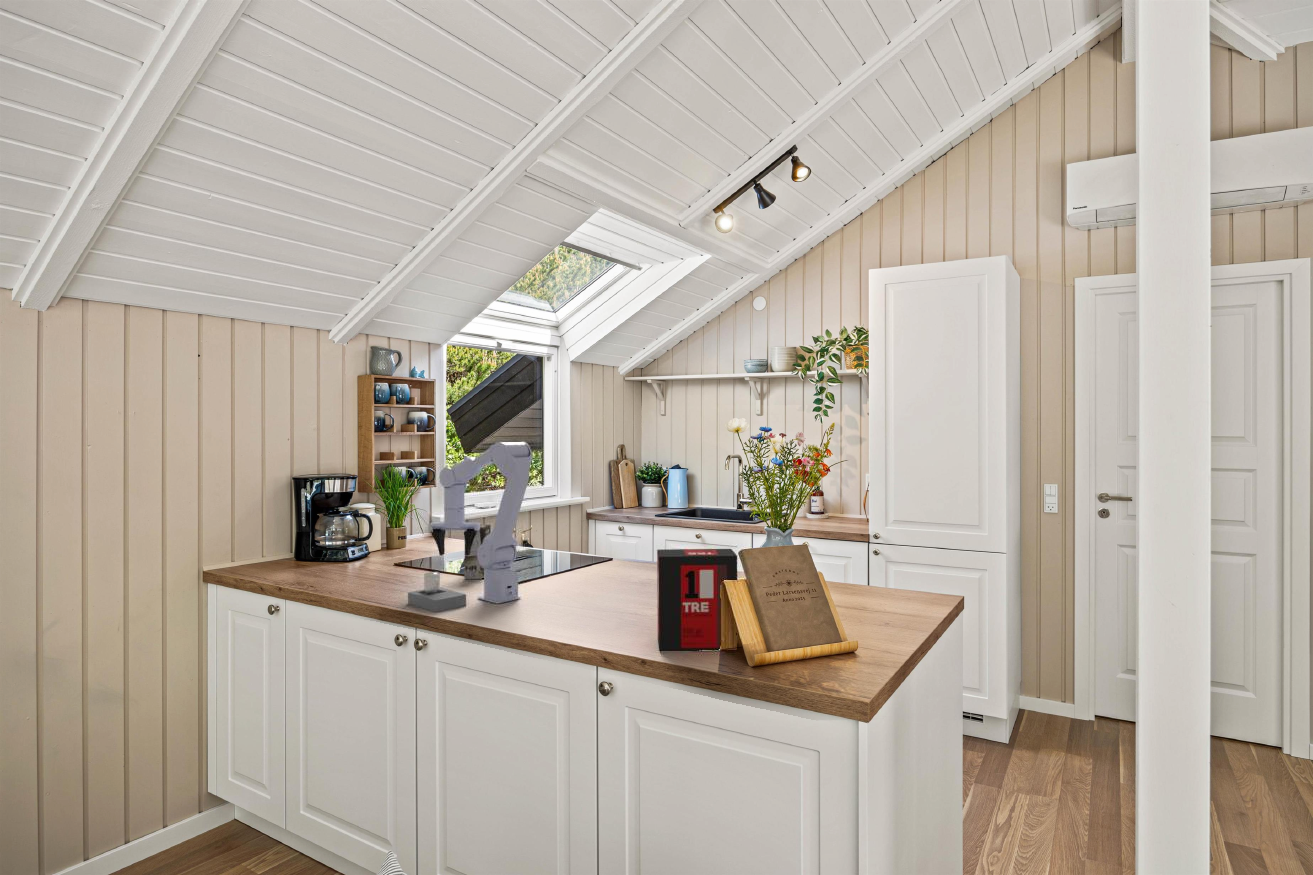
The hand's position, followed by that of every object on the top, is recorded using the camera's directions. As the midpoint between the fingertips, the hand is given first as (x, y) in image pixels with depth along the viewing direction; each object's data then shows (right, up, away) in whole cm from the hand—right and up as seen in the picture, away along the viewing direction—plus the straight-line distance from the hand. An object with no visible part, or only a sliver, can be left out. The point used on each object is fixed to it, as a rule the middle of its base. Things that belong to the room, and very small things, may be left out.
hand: (454, 554), depth 205 cm
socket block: (0, -11, -17) cm, 20 cm away
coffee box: (+2, -10, +20) cm, 23 cm away
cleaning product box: (+68, -11, -53) cm, 87 cm away
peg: (-2, -11, -15) cm, 18 cm away
